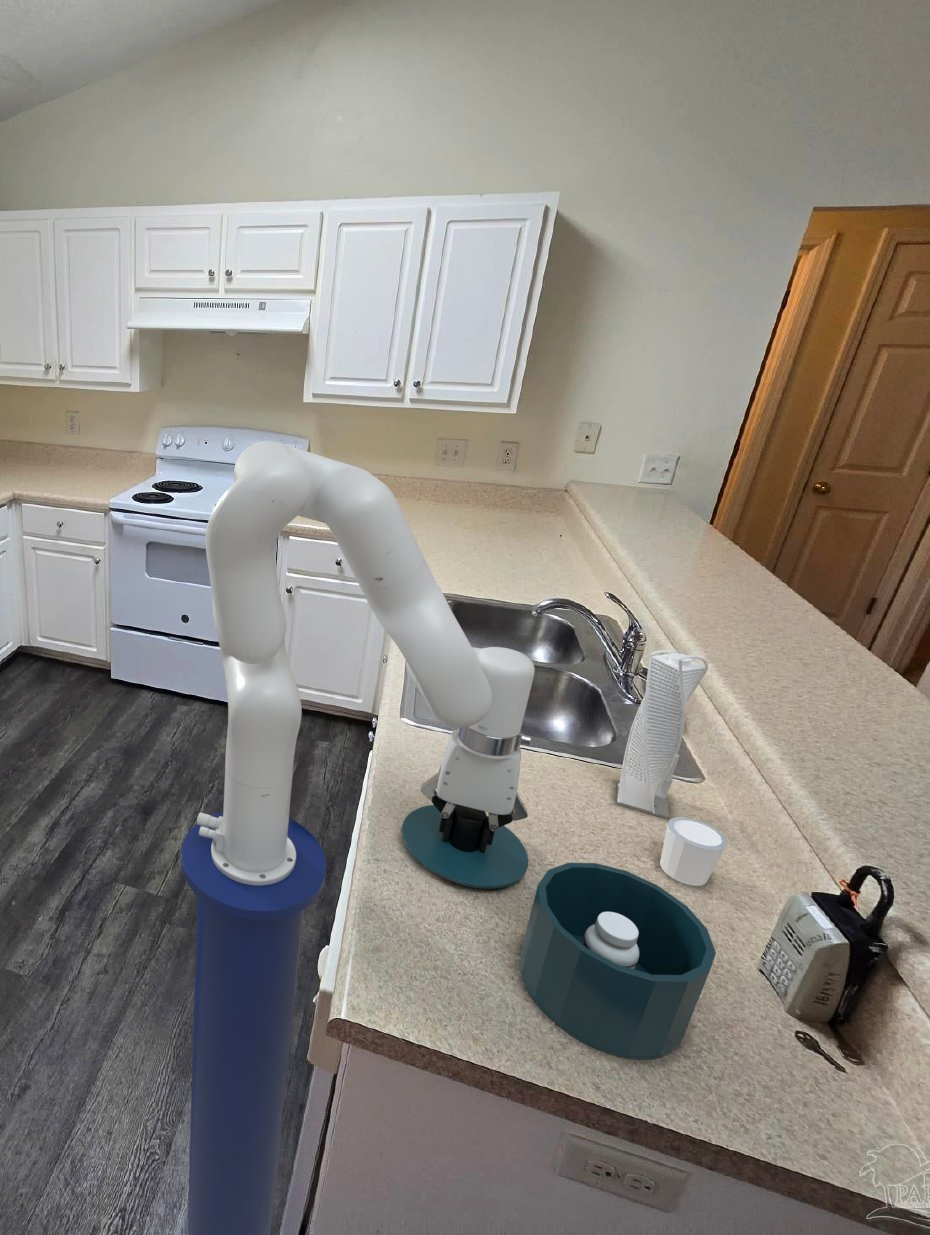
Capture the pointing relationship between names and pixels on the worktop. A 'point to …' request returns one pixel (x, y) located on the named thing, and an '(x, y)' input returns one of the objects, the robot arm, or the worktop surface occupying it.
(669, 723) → the skyscraper
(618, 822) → the worktop surface
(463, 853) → the lid
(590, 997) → the pot
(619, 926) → the pill bottle
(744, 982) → the worktop surface
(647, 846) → the worktop surface
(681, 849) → the white cylinder
